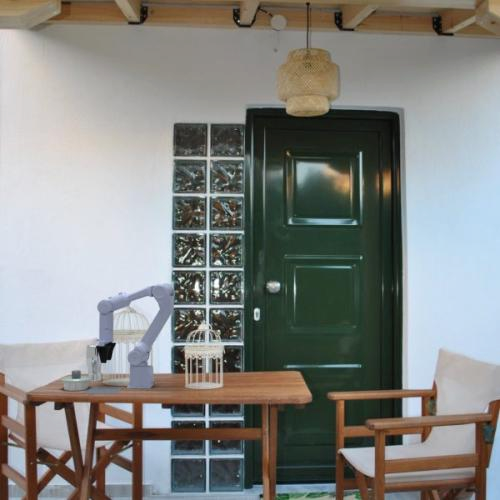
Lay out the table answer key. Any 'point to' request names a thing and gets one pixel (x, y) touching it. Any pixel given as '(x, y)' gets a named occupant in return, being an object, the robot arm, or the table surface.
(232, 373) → the table surface
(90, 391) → the mat
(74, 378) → the lid
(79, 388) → the bowl
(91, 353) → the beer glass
